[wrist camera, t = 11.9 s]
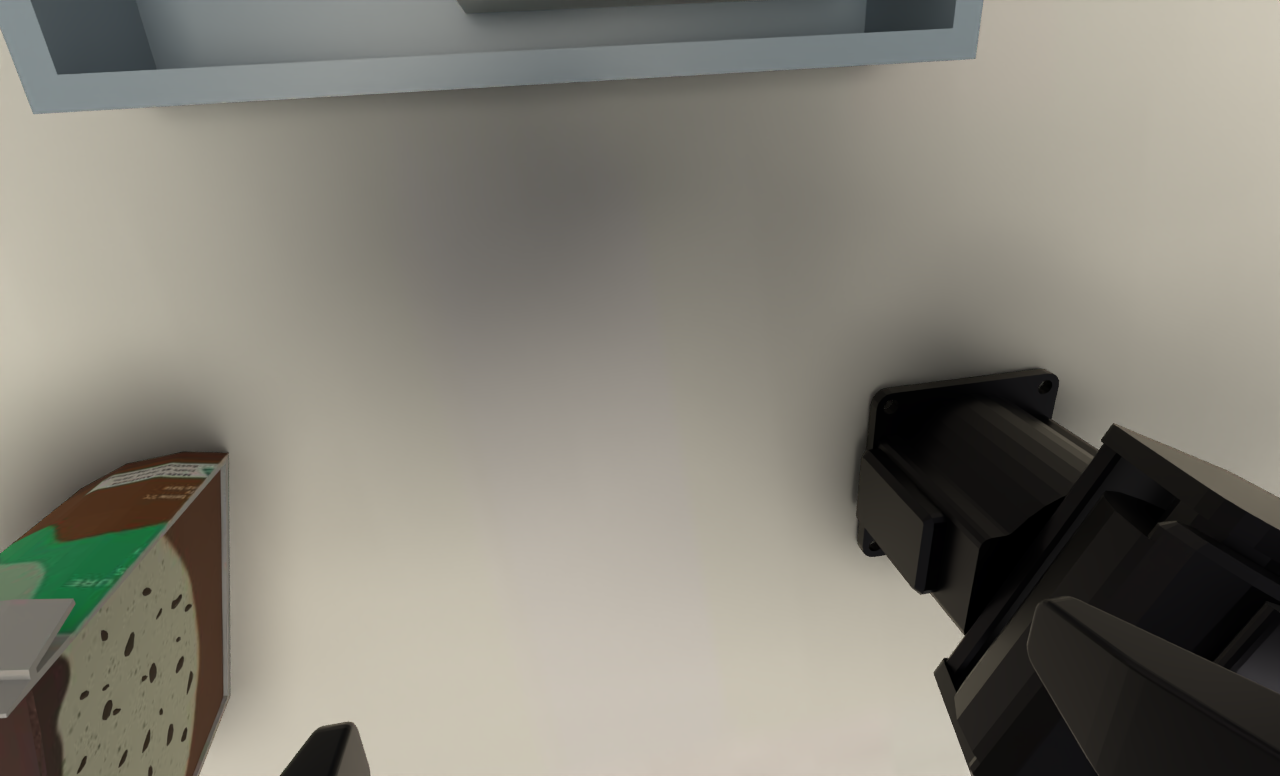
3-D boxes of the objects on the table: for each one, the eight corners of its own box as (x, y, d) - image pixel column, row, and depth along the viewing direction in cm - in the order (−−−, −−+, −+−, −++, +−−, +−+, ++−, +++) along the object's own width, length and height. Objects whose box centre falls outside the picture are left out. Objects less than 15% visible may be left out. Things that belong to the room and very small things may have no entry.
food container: (-36, 378, 18) (-553, 679, 9) (228, 405, 20) (2, 688, 11) (20, 726, 23) (-291, 1154, 14) (230, 727, 24) (73, 1113, 15)
